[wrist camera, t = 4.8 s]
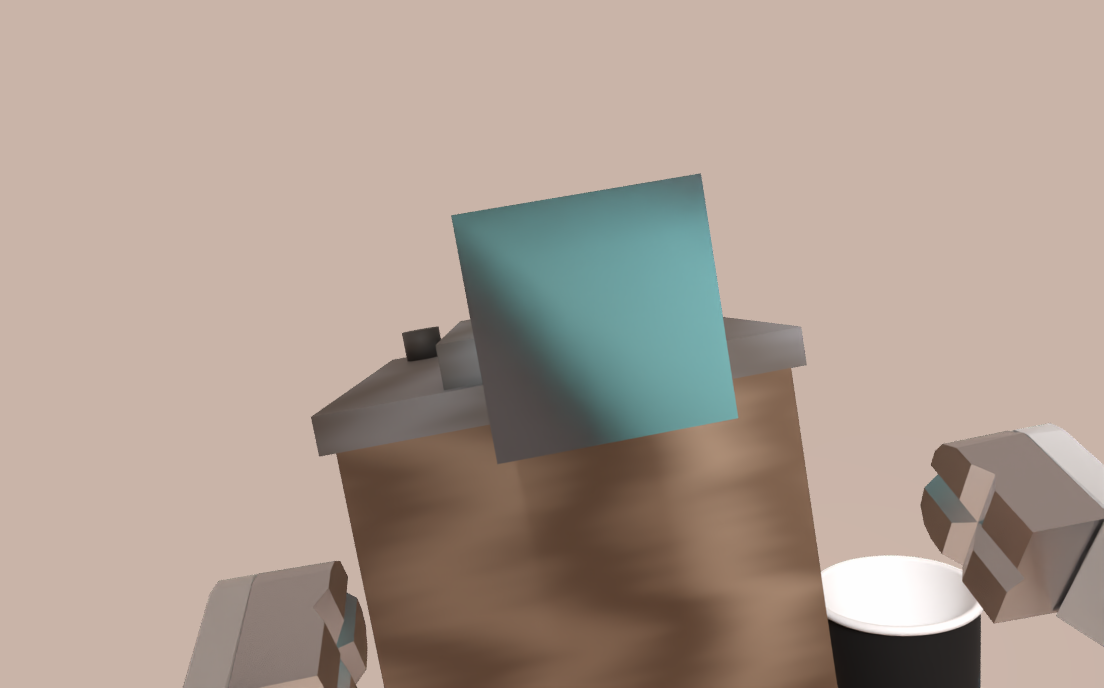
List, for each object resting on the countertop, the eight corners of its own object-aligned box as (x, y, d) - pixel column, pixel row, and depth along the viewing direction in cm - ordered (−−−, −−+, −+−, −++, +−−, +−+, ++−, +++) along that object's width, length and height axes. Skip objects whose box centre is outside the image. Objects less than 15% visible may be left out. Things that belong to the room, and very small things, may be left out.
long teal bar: (497, 464, 12) (451, 215, 11) (495, 342, 37) (481, 266, 37) (738, 418, 12) (700, 173, 11) (570, 329, 38) (557, 253, 37)
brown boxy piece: (472, 1192, 23) (301, 370, 21) (481, 813, 40) (387, 333, 38) (909, 1079, 24) (794, 281, 22) (739, 755, 41) (664, 284, 39)
